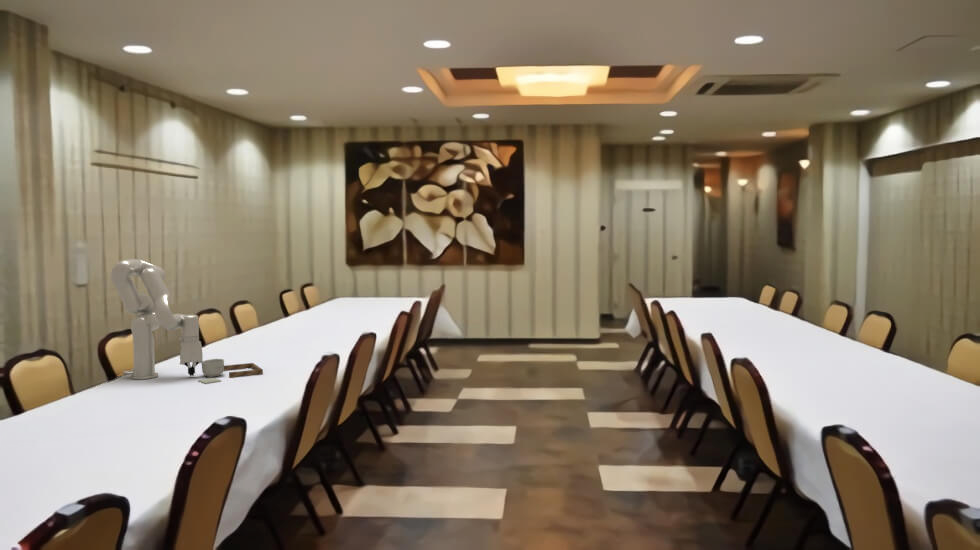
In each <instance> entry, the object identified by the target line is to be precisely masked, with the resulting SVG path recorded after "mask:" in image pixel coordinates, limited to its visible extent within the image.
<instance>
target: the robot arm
mask: <svg viewBox="0 0 980 550" xmlns="http://www.w3.org/2000/svg"><path fill="white" fill-rule="evenodd" d="M134 276H135V277H138V278H140V279H141V282H142V283H143V284H144V286H145V288H146V290H147V292H148V294H149V295H147V294H145V293H140V292H139V291H138V289H137V287H136V285H135V283H134V282H133V281H132V280H131V277H134ZM110 279H111V283H112V284H113V287H114V288H115V290H116V292H117V293H118V297H119V298H120V300H121V303H122V304H123V306H124V307H123V308H124V309H125V311H126V312H127V313H128V314H131V315H134V314H137V316H136V317H134V318H133V319H132V320H131V325H130V330H131V334H132V346H133V348H132V349H133V351H132V352H133V367H132V368H131V369H130V370H123V375H128V376H129V375H130V379H133V380H149V379H154V378H157V377H158V376H159V372H156V367H155V366H156V365H155V338H154V334H153V332H154V331H156V330H157V329H159V328H160V326H161V327H162V328H163V329H164V330H166V331H167V332H169V331H170V332H173V331H176V330H179V329H182V336H181V337H179V341H181V344H180V351H179V360H180V362H179V365H182V366H185V367H187V374H188V375H189V377H192V376H194V375H195V374H196V367H197V366H198V365H199V364H202V363H201V362H203V361H204V360H203V358H204V356H203V347H202V341H200V333H199V332H200V330H199V329H200V326H199V325H200V324H199V323H200V322H199V315H197V314H183V313H174V314H173V313H172V311H171V308H170V306H169V299H170V295H171V294H170V291H169V289H168V287H167V285H166V283H165V281H164V280H165V279H166V272H165V270H164V269H163V268H161V266H157V265H155V264H152V263H150V262H147V261H145V260H142V259H139V258H138V259H137V258H132V259H130V258H129V259H122V260H120V261H118V262H116V264H114V266H113V267H112V269H111V271H110Z"/></svg>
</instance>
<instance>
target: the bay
mask: <svg viewBox="0 0 980 550" xmlns="http://www.w3.org/2000/svg"><path fill="white" fill-rule="evenodd" d="M246 368H248V370H247V369H246ZM237 369H238V370H240V371H237ZM244 369H245V370H244ZM249 369H250V370H249ZM235 370H236V371H235ZM263 370H264V369H263V368H262V367H259V366H258V365H257V364H255V363H254V362H247V363H238V364H224V372H226V371H229V372H228V378H231V379H232V378H239V377H240V378H241V377H250V376H261V375H264V371H263Z"/></svg>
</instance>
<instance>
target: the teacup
mask: <svg viewBox="0 0 980 550" xmlns="http://www.w3.org/2000/svg"><path fill="white" fill-rule="evenodd" d="M202 361H203V362H201V363H200V364H201V371H202V374H203V375H204V376H206V377H208V378H216V377H220V376H221V375H222V374H223V373H224V372H225V371H224V366H225V363H224V362H225V360H224V359H222V358H211V359H206V360H202Z"/></svg>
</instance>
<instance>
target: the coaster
mask: <svg viewBox="0 0 980 550" xmlns="http://www.w3.org/2000/svg"><path fill="white" fill-rule="evenodd" d="M197 382H198V383H200V382H201V384H204V385H209V384H215V383H216V384H217V383H221V382H222V380H221V379H218V378H216V377H208V378H204V379H203V378H202V379H199V380H197Z"/></svg>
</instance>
